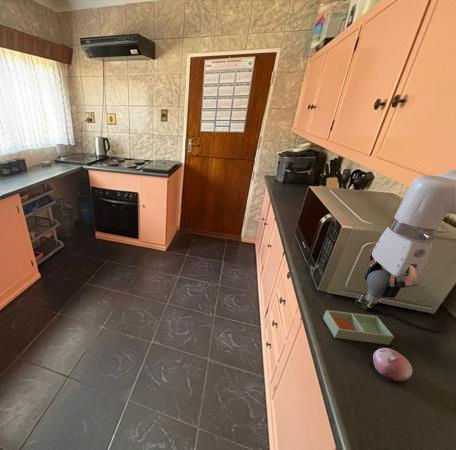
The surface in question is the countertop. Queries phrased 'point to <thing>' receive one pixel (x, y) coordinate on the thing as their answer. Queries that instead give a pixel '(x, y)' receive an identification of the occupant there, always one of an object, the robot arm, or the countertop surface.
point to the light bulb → (377, 284)
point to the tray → (357, 327)
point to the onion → (392, 364)
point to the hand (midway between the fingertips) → (378, 287)
